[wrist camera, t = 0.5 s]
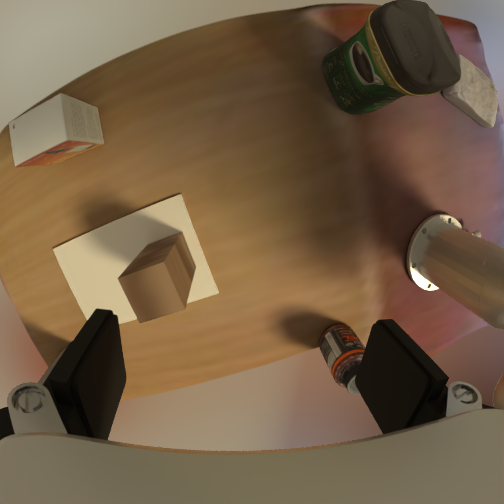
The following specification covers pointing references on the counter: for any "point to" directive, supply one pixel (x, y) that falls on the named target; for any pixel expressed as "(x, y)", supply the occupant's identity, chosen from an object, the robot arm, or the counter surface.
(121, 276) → the walnut block
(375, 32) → the coffee jar
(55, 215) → the counter surface
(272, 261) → the counter surface
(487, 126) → the stone block
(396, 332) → the robot arm
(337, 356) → the supplement bottle
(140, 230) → the cream mat
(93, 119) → the small box
